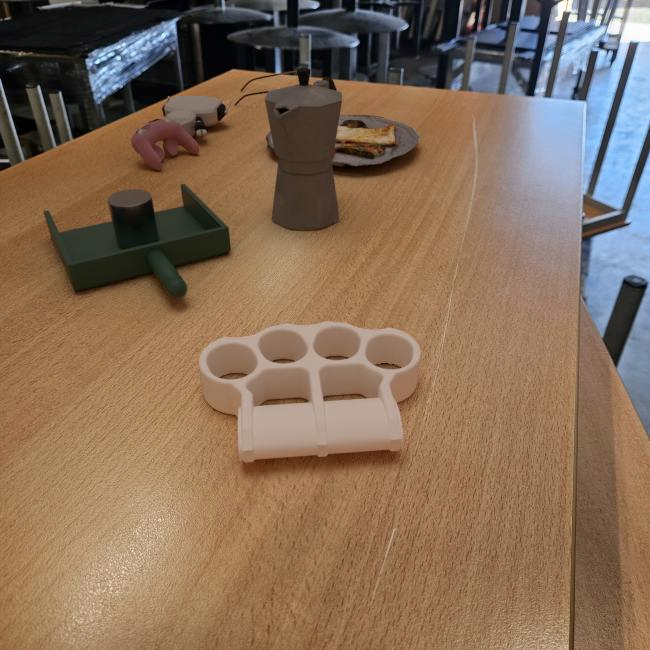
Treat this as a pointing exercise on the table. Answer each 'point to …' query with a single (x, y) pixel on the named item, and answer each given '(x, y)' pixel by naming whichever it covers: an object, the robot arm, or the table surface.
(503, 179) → the table surface
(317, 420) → the white brass knuckles
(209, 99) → the robot toy
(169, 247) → the scoop
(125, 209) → the metal canister
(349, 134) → the food plate
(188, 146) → the pink curved piece
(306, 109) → the coffeepot
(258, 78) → the sunglasses
